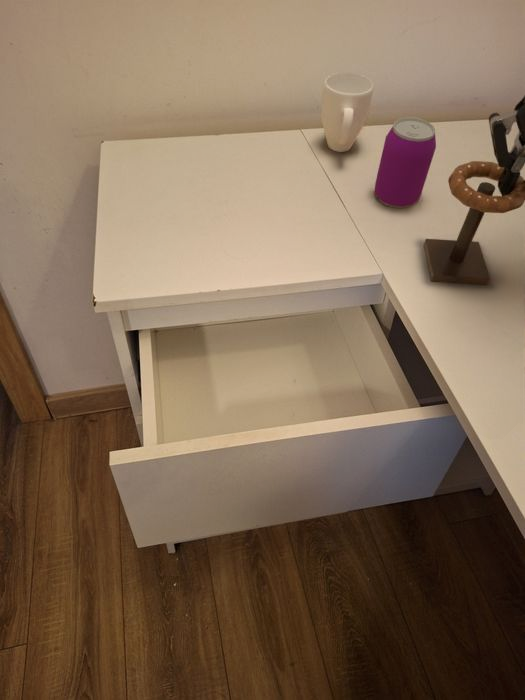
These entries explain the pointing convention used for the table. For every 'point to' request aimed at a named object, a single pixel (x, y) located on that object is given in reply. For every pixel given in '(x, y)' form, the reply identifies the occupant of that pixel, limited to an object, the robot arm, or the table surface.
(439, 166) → the table surface
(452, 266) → the peg stand
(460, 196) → the ring
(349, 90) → the mug
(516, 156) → the robot arm
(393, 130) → the beverage can
